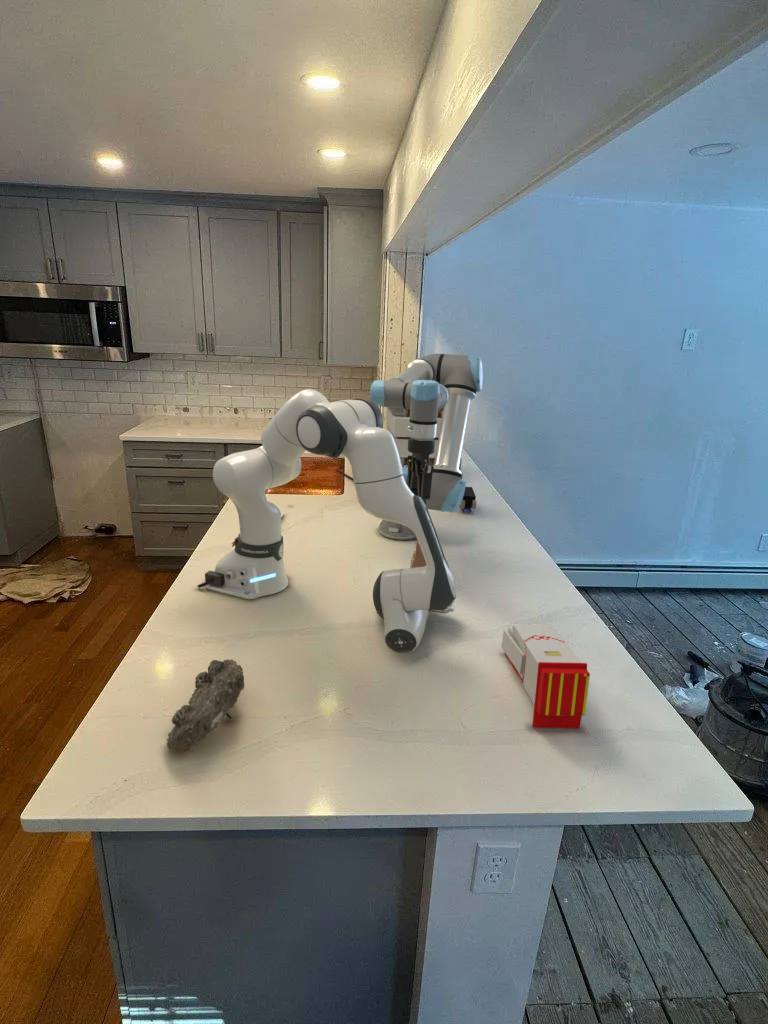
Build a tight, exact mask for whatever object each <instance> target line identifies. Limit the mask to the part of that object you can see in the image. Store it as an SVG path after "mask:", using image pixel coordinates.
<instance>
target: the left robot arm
mask: <svg viewBox="0 0 768 1024" xmlns="http://www.w3.org/2000/svg"><path fill="white" fill-rule="evenodd" d="M382 413H383V412H382V411H381V409H380V406H377V405H376V404H375V403H373V402H371V400H369V399H365V398H351V399H341V400H340V399H339V400H335V401H331V402H330V401H329V400H328V398H327V397H325V396H324V394H322V393H321V392H320V391H318V390H316V389H313V388H306V389H302V390H299V392H297V393H296V394H294V395H293V396H292V397H291V398H289V399H288V400H287V401H286V402H285V403H284V404H283V405H282V406H281V407H280V408H279V410H277V412H276V413H275V414H274V415H273V417H272V418H271V419H270V420H269V422H268V423H267V424H266V426H265V427H264V428H263V429H262V432H261V434H260V441H261V446H259V447H256V448H253V449H247V450H242V451H238V452H237V451H236V452H232V453H231V454H228V455H226V456H224V457H222V458H220V459H218V460H217V461H216V462H215V463H214V465H213V468H212V480H213V483H214V486H215V487H216V489H217V490H218V492H220V493H221V494H222V495H224V496H225V497H227V498H229V499H230V501H231V502H232V503H233V504H234V506H235V508H236V511H237V515H238V523H239V533H238V535H237V536H236V537H235V538H234V540H233V541H232V542H231V547H232V548H233V547H234V548H233V549H231V551H229V552H227V553H226V554H224V556H222V557H221V558H220V559H219V560H218V561H217V562H216V565H215V568H214V571H213V570H208V571H207V572H205V573H204V580H205V581H204V582H202V583H199V584H197V588H198V589H200V588H203V587H205V588H206V589H208V590H211V591H215V592H218V593H222V594H227V595H230V596H233V597H238V598H242V599H245V600H254V599H257V598H260V597H265V596H270V595H275V594H277V593H279V592H283V590H286V588H287V587H288V586H289V579H288V577H287V573H286V569H285V562H284V553H285V544H284V536H283V535H282V520H281V518H282V512H281V510H280V508H279V507H278V506H277V505H276V504H274V503H273V502H271V501H268V500H267V496H266V491H267V490H268V489H269V490H270V489H273V488H276V487H280V486H284V485H286V484H288V483H290V482H291V481H293V480H295V479H296V478H298V477H299V475H300V473H301V471H302V460H301V457H302V455H304V453H305V452H308V453H310V454H313V455H319V456H325V457H329V458H332V459H338V458H339V457H340V456H341V455H342V456H344V457H345V458H346V459H347V460H348V462H349V464H350V468H351V472H352V478H353V480H354V481H353V480H352V481H353V484H354V490H355V494H356V498H357V501H358V503H359V505H360V507H361V508H362V509H363V510H364V511H365V512H366V513H368V514H369V515H370V516H373V517H374V518H377V519H379V520H382V519H383V520H387V521H392V522H396V523H399V524H402V525H404V526H406V527H408V528H410V529H411V530H412V531H413V532H414V533H415V535H416V536H417V538H416V540H418V542H419V544H420V547H421V550H422V553H423V556H424V559H425V561H426V564H427V565H426V566H424V567H416V568H410V567H407V568H394V569H385V570H382V571H381V572H380V573H379V574H378V576H377V577H376V579H375V581H374V583H373V590H372V601H373V606H374V609H375V611H376V614H377V616H379V618H380V619H381V620H382V621H383V622H384V623H383V624H384V631H383V639H384V643H385V645H386V647H387V648H388V649H390V650H392V651H393V652H394V653H395V652H396V653H400V654H403V653H404V654H406V653H410V652H412V651H414V650H416V648H417V647H418V646H419V644H420V643H421V641H422V638H423V636H424V632H425V629H426V622H427V620H428V616H429V613H434V614H441V615H442V614H443V615H444V614H449V613H450V612H451V613H453V612H454V611H455V600H456V599H457V582H456V580H455V577H454V575H453V573H452V569H450V566H449V564H448V562H447V559H446V556H445V553H444V550H443V548H442V545H441V542H440V539H439V536H438V532H437V530H436V527H435V525H434V522H433V520H432V517H431V513H430V512H429V509H427V507H426V505H425V503H424V501H423V500H422V498H421V497H419V496H417V495H414V494H413V493H412V492H411V490H410V489H409V487H408V486H407V484H406V481H405V479H404V474H403V469H402V464H401V460H400V456H399V453H398V449H397V446H396V444H395V441H394V438H393V436H392V434H391V433H390V432H389V431H388V430H386V428H383V427H384V416H383V414H382Z"/></svg>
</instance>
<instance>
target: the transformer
mask: <svg viewBox="0 0 768 1024" xmlns="http://www.w3.org/2000/svg"><path fill="white" fill-rule="evenodd" d="M443 409H444V407H443V408H442V409H440V410H438V414H437V430H436V437H435V438H434V439H435V452H434V453H433V454H430V455H429V461H430V466H433V465H434V462H435V456H436V450H437V444H438V439H439V433H440V427H441V421H442V415H443ZM385 414H386V415H385V423H386V428H385V429H386V430H388V431H389V432H390V433H391V434H392V436H393V438H394V441H395V444H396V446H397V449H398V453H399V456H400V460H401V464H402V467H405V466H406V467H408V456H410V455H412V453H410V452H409V451H408V439H409V438H410V436H409V430H408V426H409V421H410V409H403V408H391V407H386V413H385ZM462 461H463V460H462V457H461V459H460V465H459V470H460V471H461V472H462Z"/></svg>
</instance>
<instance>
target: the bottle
mask: <svg viewBox="0 0 768 1024" xmlns="http://www.w3.org/2000/svg"><path fill="white" fill-rule="evenodd" d="M414 545H415V546H414V551H413V554H412V557H411V560H410V567H409V568H416V567H424V566H426V565H427V564H426V561H425V559H424V556H423V553H422V550H421V547H420V544H419V542H418V539H416V540H415V542H414Z"/></svg>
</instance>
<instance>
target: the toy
mask: <svg viewBox="0 0 768 1024" xmlns="http://www.w3.org/2000/svg"><path fill="white" fill-rule="evenodd" d="M507 629H508V630H507ZM507 629H503V633H502V640H501V649H502V650H503V652H504V656H505V657H506V659H507V660H508V662H509V664H510V665H511V667H512V669H513V671H514V672H515V673H516V675H517V676H518V678H519V679H520V681H521V683H522V684H523V687H524V688H525V690H526V692H527V694H528V696H529V698H530V700H531V702H532V704H533V715H532V726H531V727H532V728H533V729H581V723H582V717H585V716H586V710H587V701H588V695H589V694H588V693H589V685H590V677H591V674H590V672H589V671H588V663H587V662H581V660H580V659H579V658H578V657H577V655H576V654H575V652H573V651H572V649H571V647H570V646H569V645H568V644H567V643H566V641H565V640H564V639H563V638H562V636H561V635H560V634H559V632H558V630H556V629H555V627H554V626H553V624H539V623H538V624H536V623H535V624H532V623H531V624H530V623H512V625H511V626H510V625H508V628H507Z"/></svg>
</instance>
